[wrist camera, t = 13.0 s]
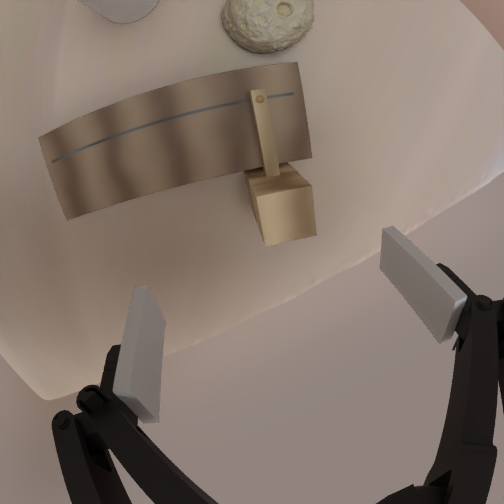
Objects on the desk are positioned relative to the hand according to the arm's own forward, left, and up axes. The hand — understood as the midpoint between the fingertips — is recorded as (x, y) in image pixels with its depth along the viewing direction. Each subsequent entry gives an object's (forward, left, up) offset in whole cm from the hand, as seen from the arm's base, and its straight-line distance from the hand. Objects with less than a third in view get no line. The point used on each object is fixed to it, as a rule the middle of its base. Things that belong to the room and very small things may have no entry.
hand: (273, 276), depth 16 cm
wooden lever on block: (+3, +2, -21) cm, 22 cm away
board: (-7, +6, -21) cm, 23 cm away
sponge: (+6, +18, -22) cm, 29 cm away
